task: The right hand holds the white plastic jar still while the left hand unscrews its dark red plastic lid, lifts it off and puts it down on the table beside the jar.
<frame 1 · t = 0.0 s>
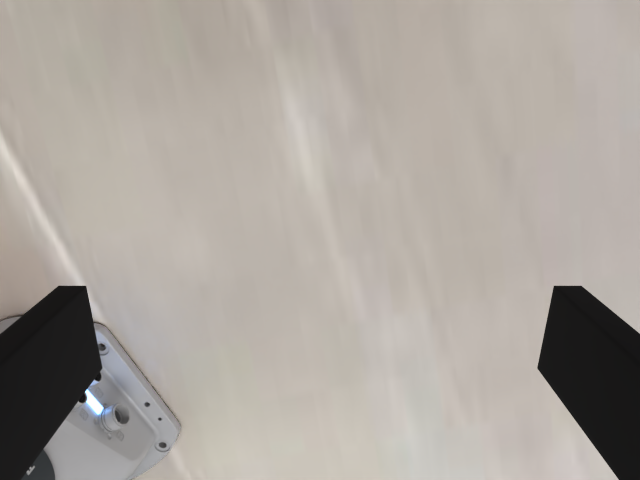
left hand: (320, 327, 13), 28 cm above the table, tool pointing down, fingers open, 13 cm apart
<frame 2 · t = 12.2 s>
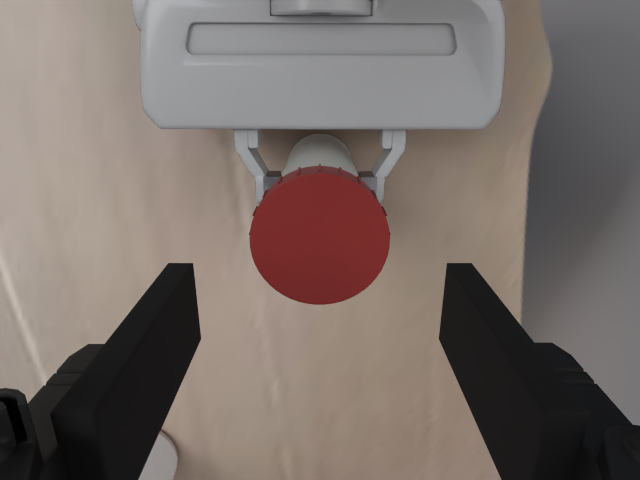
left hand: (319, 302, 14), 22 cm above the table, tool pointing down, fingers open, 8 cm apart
right hand: (320, 201, 29), fingers closed on jar, 5 cm apart
jar: (320, 166, 35), on the table, touching right hand
mug: (132, 457, 45), on the table
lid: (319, 240, 20), point 16 cm above the table, screwed on, not yet turned
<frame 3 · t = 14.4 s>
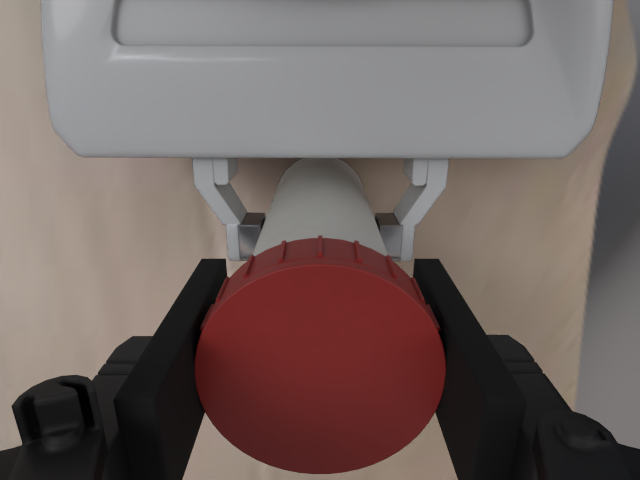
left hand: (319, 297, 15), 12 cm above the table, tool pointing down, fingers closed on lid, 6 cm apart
right hand: (321, 256, 20), fingers closed on jar, 5 cm apart
jar: (320, 198, 26), on the table, touching right hand
lid: (320, 370, 11), point 16 cm above the table, screwed on, not yet turned, touching left hand
when the left hand's fingers open (12 cm above the table, at t = 15.7 s): lid stays where it is, point 16 cm above the table.
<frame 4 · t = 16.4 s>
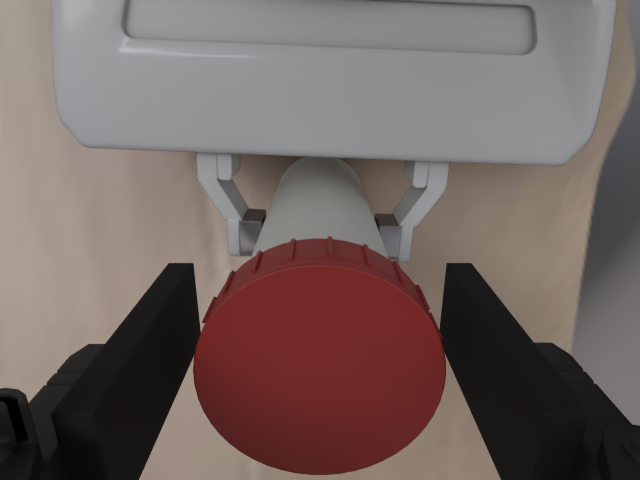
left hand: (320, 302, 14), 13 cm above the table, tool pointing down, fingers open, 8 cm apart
right hand: (320, 254, 20), fingers closed on jar, 5 cm apart
jar: (319, 197, 26), on the table, touching right hand
lid: (319, 371, 11), point 16 cm above the table, turned 83° so far, risen 0.3 cm, still on its thread
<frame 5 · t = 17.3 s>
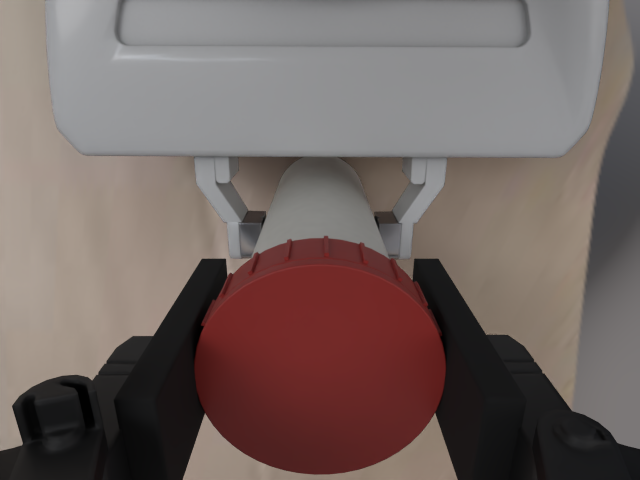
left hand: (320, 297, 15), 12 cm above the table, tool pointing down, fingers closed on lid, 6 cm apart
right hand: (321, 254, 20), fingers closed on jar, 5 cm apart
jar: (320, 197, 26), on the table, touching right hand
lid: (320, 370, 11), point 16 cm above the table, turned 83° so far, risen 0.3 cm, still on its thread, touching left hand
when the left hand's fingers open (0 cm above the table, at t = 25.5 s): lid drops 3 cm, point 1 cm above the table.
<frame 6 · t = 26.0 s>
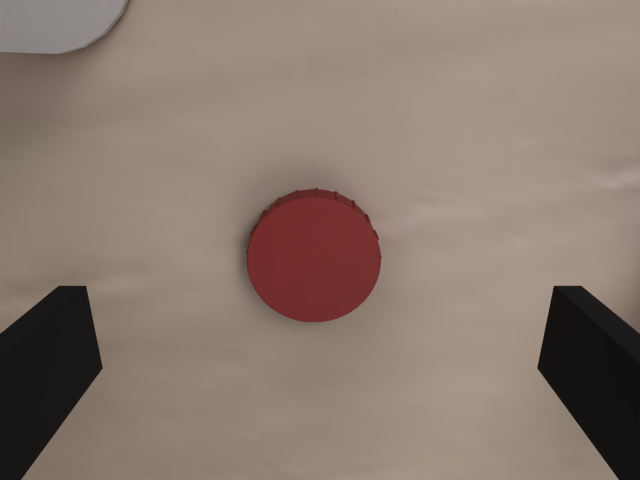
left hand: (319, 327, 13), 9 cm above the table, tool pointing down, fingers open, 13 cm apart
lid: (314, 260, 21), point 1 cm above the table, off its thread
when the right hand's fingers open (7 cm above the table, at t = 26.2 s): jar stays where it is, on the table.
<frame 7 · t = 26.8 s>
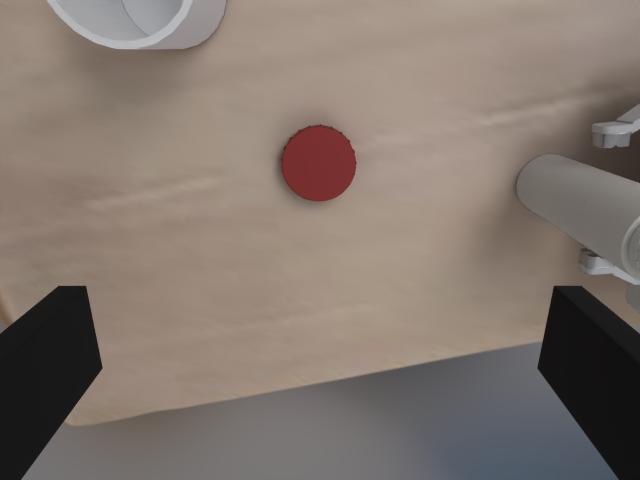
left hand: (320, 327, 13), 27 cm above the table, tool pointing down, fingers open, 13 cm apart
jar: (545, 183, 39), on the table
lid: (318, 164, 37), point 1 cm above the table, off its thread
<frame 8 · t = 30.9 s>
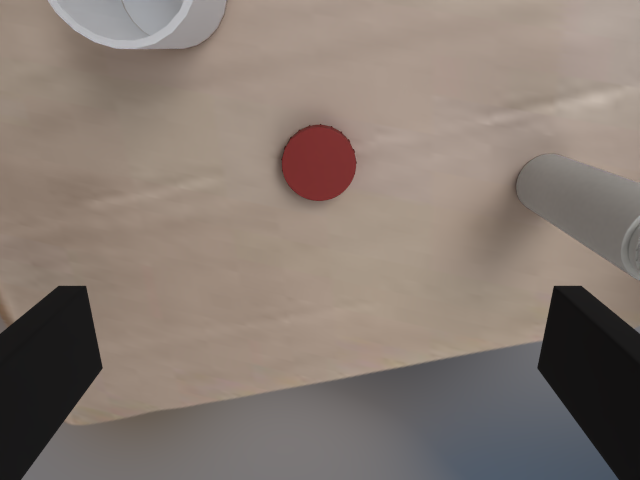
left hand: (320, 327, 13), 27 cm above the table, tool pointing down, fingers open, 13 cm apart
jar: (545, 182, 39), on the table
lid: (318, 164, 37), point 1 cm above the table, off its thread
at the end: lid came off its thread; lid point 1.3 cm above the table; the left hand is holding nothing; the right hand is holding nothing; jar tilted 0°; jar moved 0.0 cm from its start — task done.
